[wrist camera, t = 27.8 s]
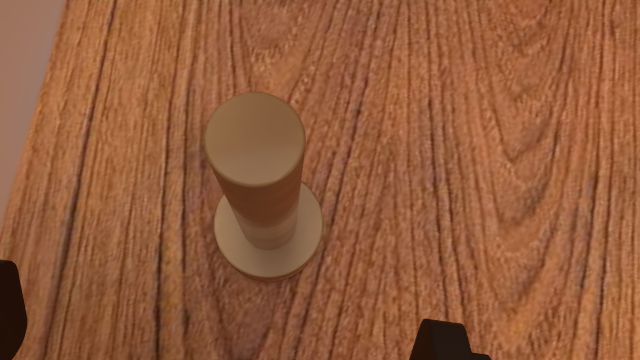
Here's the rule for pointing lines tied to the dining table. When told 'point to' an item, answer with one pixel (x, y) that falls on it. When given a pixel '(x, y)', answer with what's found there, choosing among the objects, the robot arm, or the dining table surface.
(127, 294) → the dining table surface
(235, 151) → the peg on round base
